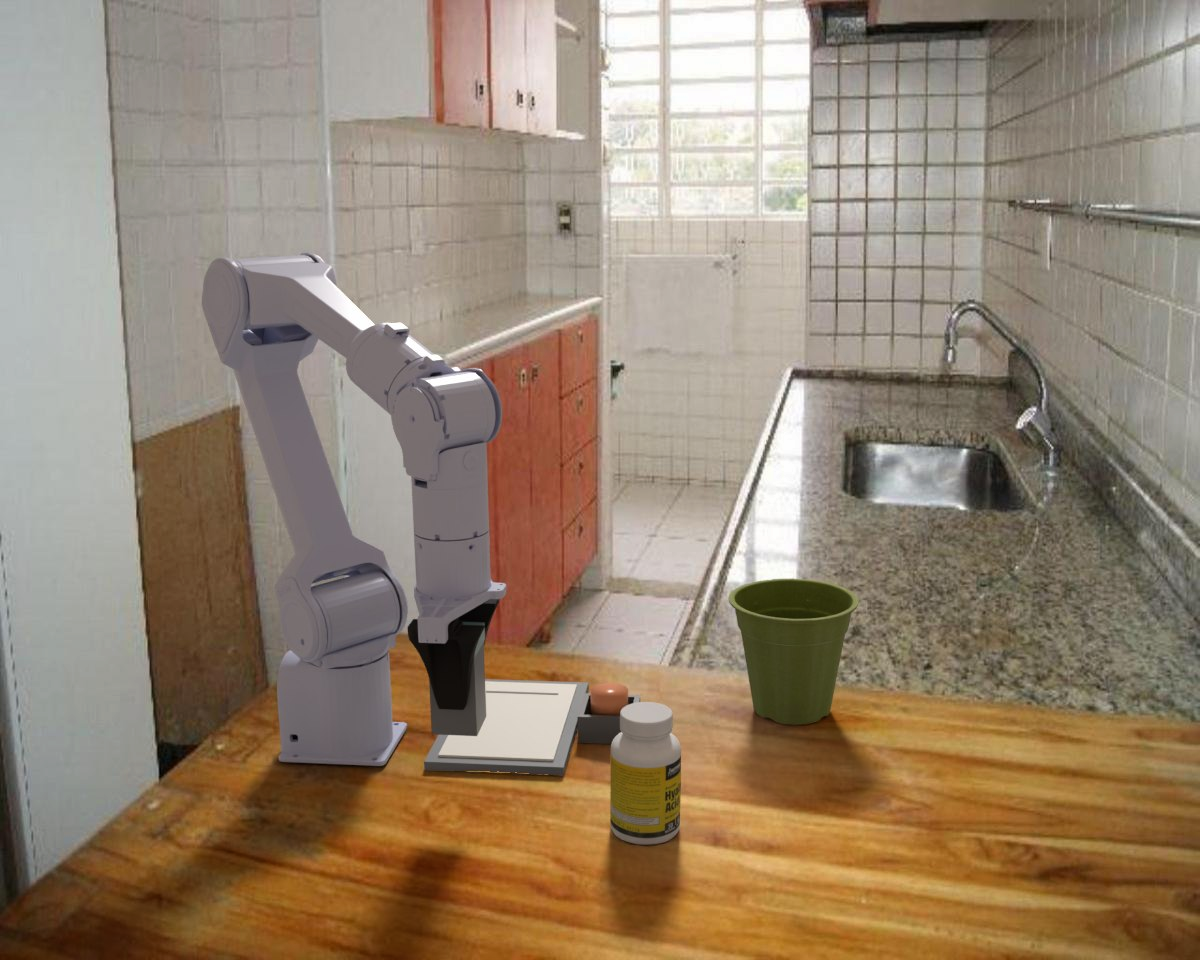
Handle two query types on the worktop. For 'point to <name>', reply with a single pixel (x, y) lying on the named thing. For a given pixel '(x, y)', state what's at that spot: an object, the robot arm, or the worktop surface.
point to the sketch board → (516, 730)
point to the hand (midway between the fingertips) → (458, 696)
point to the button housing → (598, 723)
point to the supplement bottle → (645, 775)
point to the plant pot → (792, 644)
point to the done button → (608, 699)
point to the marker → (475, 709)
